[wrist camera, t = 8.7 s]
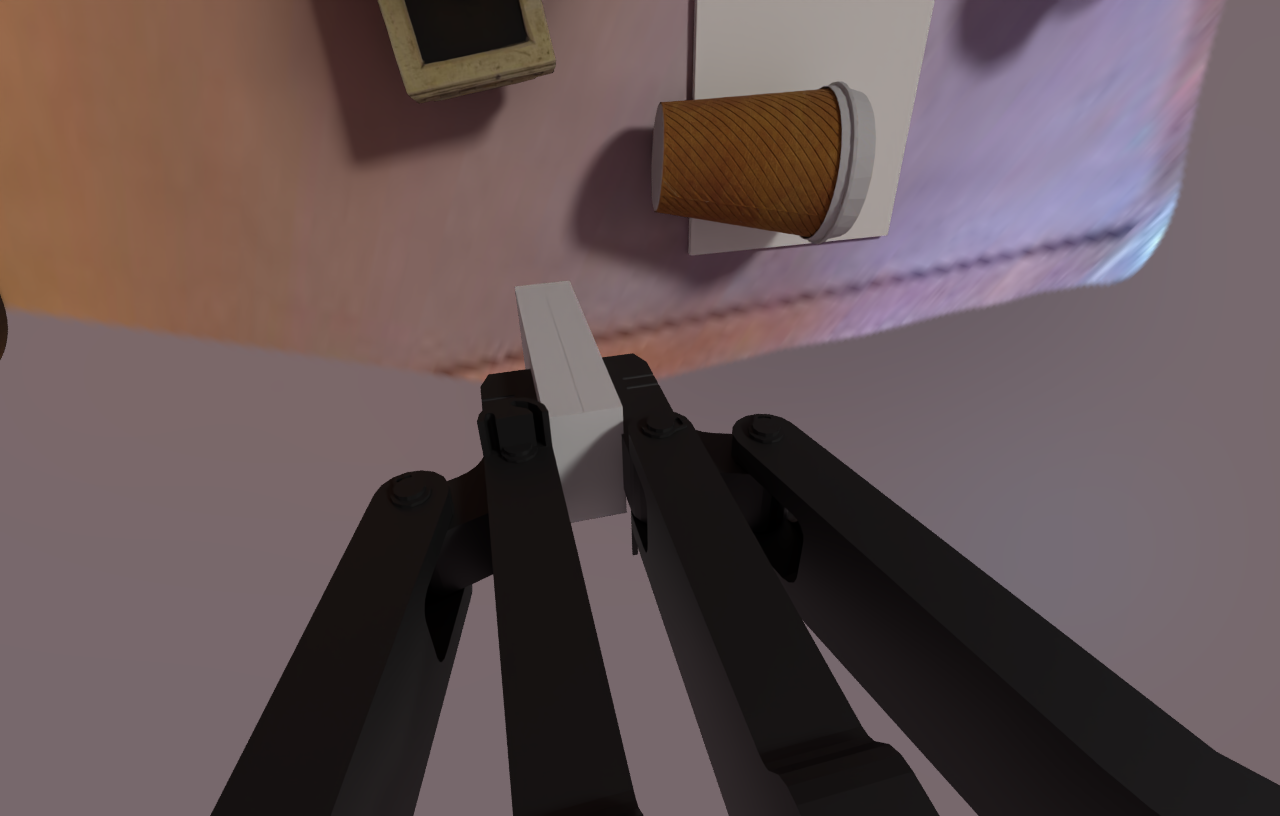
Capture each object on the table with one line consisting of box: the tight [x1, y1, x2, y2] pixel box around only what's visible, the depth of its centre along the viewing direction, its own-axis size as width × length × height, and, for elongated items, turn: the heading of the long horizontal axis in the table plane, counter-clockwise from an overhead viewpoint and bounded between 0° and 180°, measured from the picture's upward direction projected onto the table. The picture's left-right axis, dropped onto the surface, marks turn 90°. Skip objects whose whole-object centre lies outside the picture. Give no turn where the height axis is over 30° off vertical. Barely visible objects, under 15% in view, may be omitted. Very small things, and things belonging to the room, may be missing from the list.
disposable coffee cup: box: [651, 81, 876, 244], centre depth 39 cm, size 10×10×12 cm
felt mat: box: [688, 0, 935, 256], centre depth 43 cm, size 16×16×1 cm
